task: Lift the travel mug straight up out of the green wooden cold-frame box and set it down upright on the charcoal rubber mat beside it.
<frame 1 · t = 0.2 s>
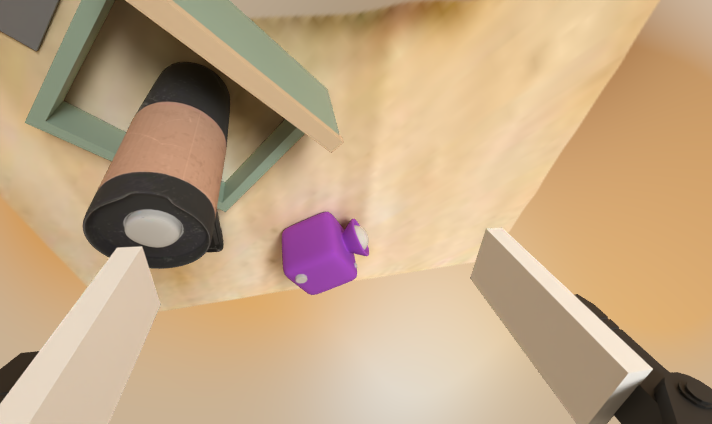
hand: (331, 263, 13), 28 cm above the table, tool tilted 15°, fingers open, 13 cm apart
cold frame: (195, 95, 35), on the table
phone: (191, 215, 48), on the table
toy camera: (324, 226, 55), on the table
travel mug: (195, 94, 35), resting in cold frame
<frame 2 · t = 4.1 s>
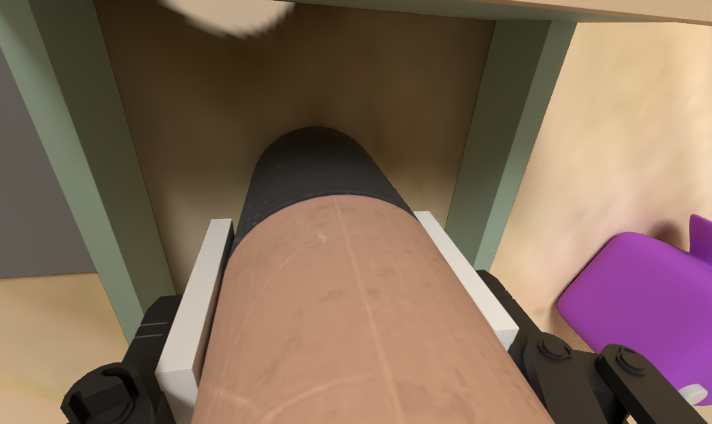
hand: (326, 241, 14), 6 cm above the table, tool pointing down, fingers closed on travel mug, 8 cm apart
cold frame: (316, 185, 19), on the table
toy camera: (620, 260, 28), on the table
travel mug: (315, 184, 19), resting in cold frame, touching gripper
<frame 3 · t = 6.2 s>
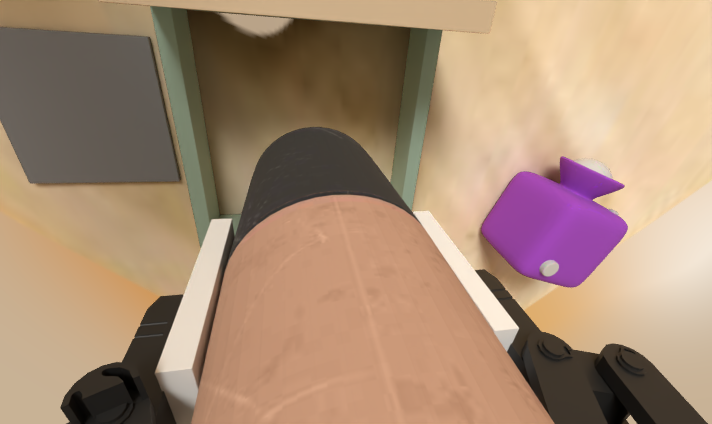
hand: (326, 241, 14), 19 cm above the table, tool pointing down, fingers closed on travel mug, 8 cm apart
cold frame: (307, 129, 30), on the table
rubber mat: (87, 113, 26), on the table
toy camera: (526, 196, 40), on the table
travel mug: (315, 184, 19), point 13 cm above the table, touching gripper
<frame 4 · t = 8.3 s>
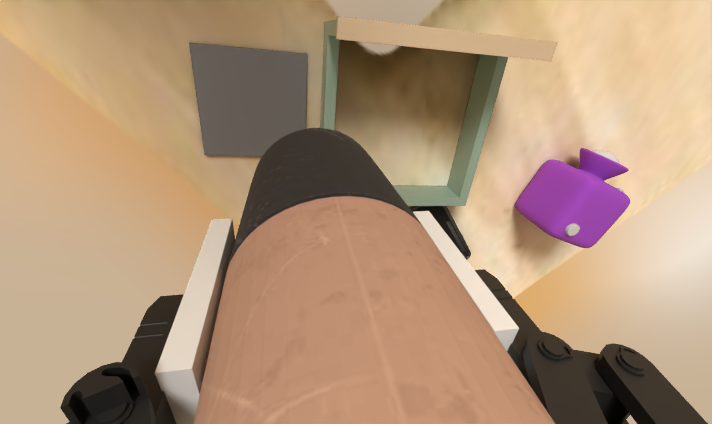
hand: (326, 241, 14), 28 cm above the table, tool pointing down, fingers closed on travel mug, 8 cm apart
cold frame: (399, 122, 42), on the table
rubber mat: (253, 105, 37), on the table
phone: (433, 234, 52), on the table
toy camera: (551, 180, 51), on the table
travel mug: (316, 185, 19), point 23 cm above the table, touching gripper
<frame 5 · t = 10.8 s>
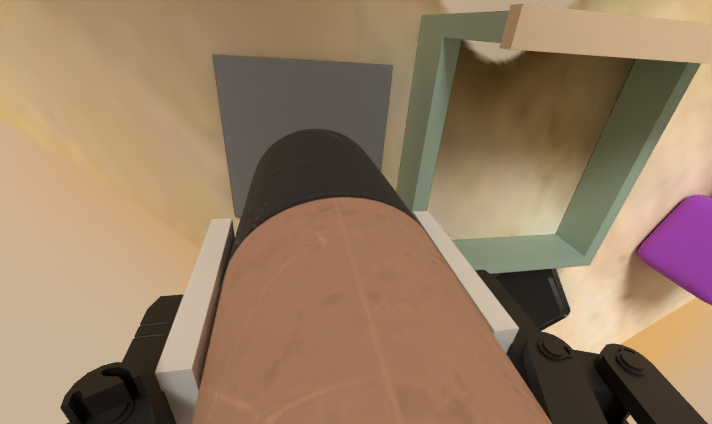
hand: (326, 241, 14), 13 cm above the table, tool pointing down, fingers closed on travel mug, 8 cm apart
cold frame: (508, 156, 29), on the table
rubber mat: (307, 145, 25), on the table
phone: (525, 291, 40), on the table
toy camera: (685, 218, 39), on the table
travel mug: (315, 185, 19), point 7 cm above the table, touching gripper
when the fingers open (8 cm above the table, at t = 12.7 s): travel mug drops 2 cm, resting on rubber mat.
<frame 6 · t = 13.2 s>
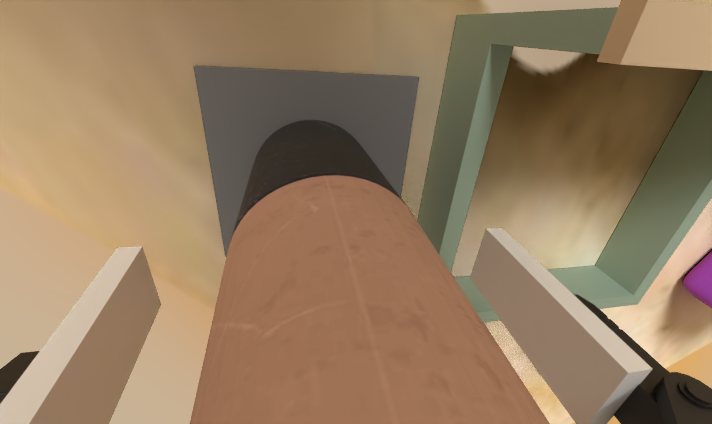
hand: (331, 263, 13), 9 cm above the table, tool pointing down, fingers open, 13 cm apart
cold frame: (548, 182, 25), on the table
rubber mat: (313, 172, 21), on the table
travel mug: (312, 174, 20), resting on rubber mat
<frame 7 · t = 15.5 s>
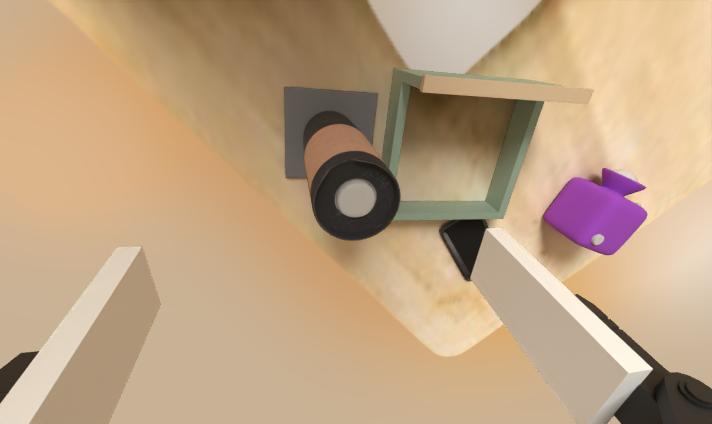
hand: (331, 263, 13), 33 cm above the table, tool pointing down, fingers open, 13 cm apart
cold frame: (448, 147, 48), on the table
rubber mat: (329, 136, 44), on the table
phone: (469, 243, 59), on the table
toy camera: (575, 195, 58), on the table
travel mug: (329, 136, 44), resting on rubber mat
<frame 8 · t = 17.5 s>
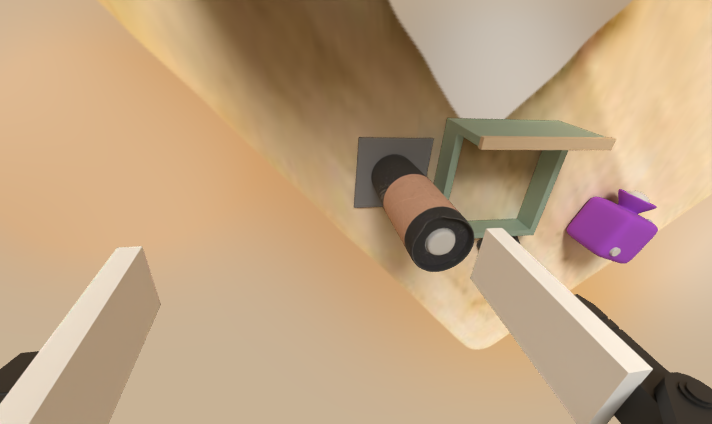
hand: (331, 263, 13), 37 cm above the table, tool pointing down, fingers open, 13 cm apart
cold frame: (488, 177, 57), on the table
rubber mat: (391, 173, 53), on the table
toy camera: (593, 210, 66), on the table
travel mug: (391, 173, 53), resting on rubber mat
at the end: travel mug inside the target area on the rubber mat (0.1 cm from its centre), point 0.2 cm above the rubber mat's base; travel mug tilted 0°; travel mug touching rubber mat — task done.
